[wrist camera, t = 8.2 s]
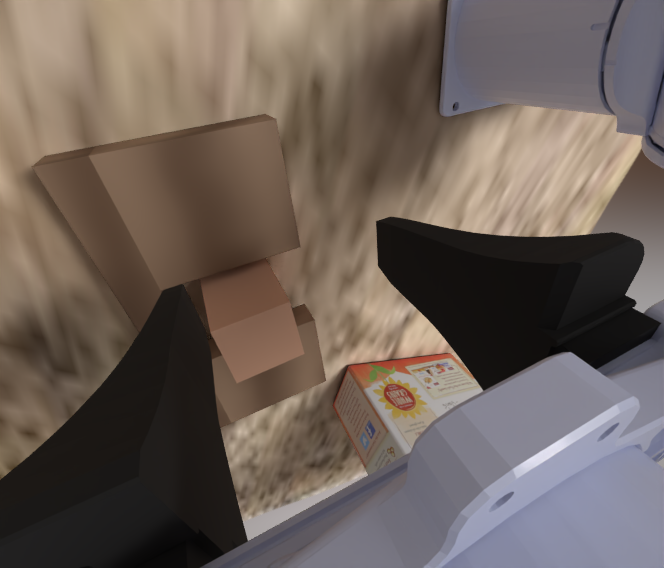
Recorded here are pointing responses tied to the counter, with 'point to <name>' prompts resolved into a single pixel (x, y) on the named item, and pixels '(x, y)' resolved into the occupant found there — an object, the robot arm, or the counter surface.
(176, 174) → the notched board
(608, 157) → the counter surface
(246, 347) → the terracotta plug
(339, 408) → the cracker box
